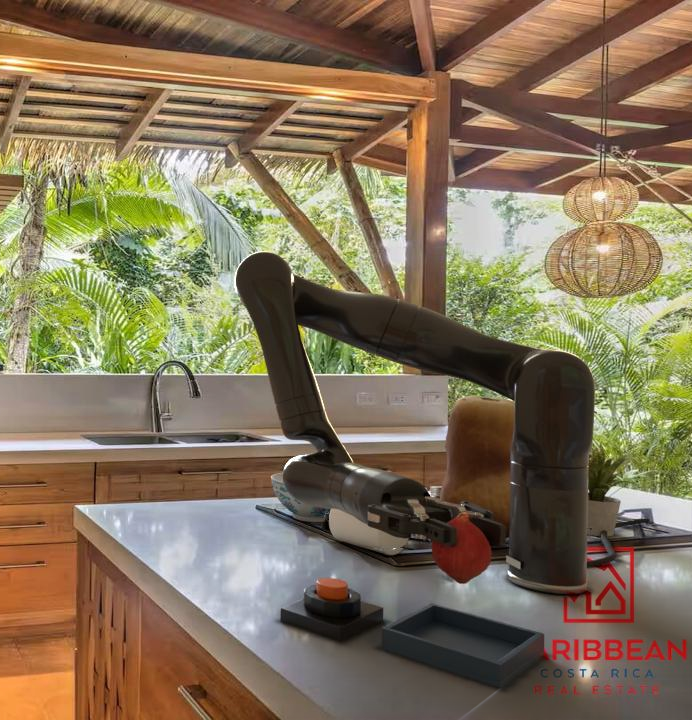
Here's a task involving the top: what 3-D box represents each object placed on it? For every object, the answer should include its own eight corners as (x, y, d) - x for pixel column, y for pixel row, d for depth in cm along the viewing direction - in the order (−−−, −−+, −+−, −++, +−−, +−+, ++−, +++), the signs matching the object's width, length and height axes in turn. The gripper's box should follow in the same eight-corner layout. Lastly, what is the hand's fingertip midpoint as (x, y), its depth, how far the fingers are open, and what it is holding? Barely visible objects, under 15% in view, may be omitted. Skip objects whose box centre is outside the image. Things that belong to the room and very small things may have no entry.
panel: (324, 603, 96) (324, 576, 96) (383, 621, 90) (383, 592, 90) (280, 621, 90) (280, 593, 90) (340, 642, 84) (340, 612, 84)
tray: (430, 622, 90) (431, 602, 90) (544, 655, 80) (544, 633, 80) (381, 648, 82) (381, 627, 82) (500, 688, 73) (500, 665, 73)
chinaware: (275, 525, 137) (275, 484, 136) (266, 507, 151) (267, 470, 151) (360, 529, 134) (360, 487, 134) (342, 510, 149) (343, 472, 149)
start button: (326, 589, 93) (326, 575, 93) (353, 597, 90) (353, 583, 90) (310, 595, 90) (311, 581, 90) (337, 604, 88) (338, 589, 88)
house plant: (672, 547, 122) (674, 450, 122) (580, 543, 124) (582, 447, 124) (623, 526, 136) (624, 438, 136) (541, 522, 138) (542, 437, 138)
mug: (377, 559, 116) (378, 508, 116) (327, 543, 125) (328, 497, 124) (426, 548, 122) (427, 500, 121) (375, 534, 130) (375, 490, 130)
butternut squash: (539, 555, 117) (542, 400, 117) (447, 549, 121) (449, 398, 121) (512, 534, 131) (515, 394, 130) (430, 528, 135) (432, 392, 134)
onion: (433, 588, 80) (434, 515, 79) (428, 572, 85) (430, 504, 85) (494, 595, 78) (496, 521, 77) (486, 578, 83) (487, 508, 83)
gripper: (333, 473, 94) (419, 504, 77) (434, 470, 96) (538, 499, 80) (332, 531, 94) (417, 574, 77) (432, 526, 97) (536, 567, 80)
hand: (478, 536), depth 79 cm, fingers closed on onion, 5 cm apart
